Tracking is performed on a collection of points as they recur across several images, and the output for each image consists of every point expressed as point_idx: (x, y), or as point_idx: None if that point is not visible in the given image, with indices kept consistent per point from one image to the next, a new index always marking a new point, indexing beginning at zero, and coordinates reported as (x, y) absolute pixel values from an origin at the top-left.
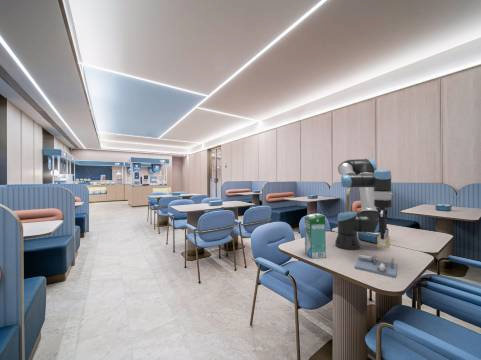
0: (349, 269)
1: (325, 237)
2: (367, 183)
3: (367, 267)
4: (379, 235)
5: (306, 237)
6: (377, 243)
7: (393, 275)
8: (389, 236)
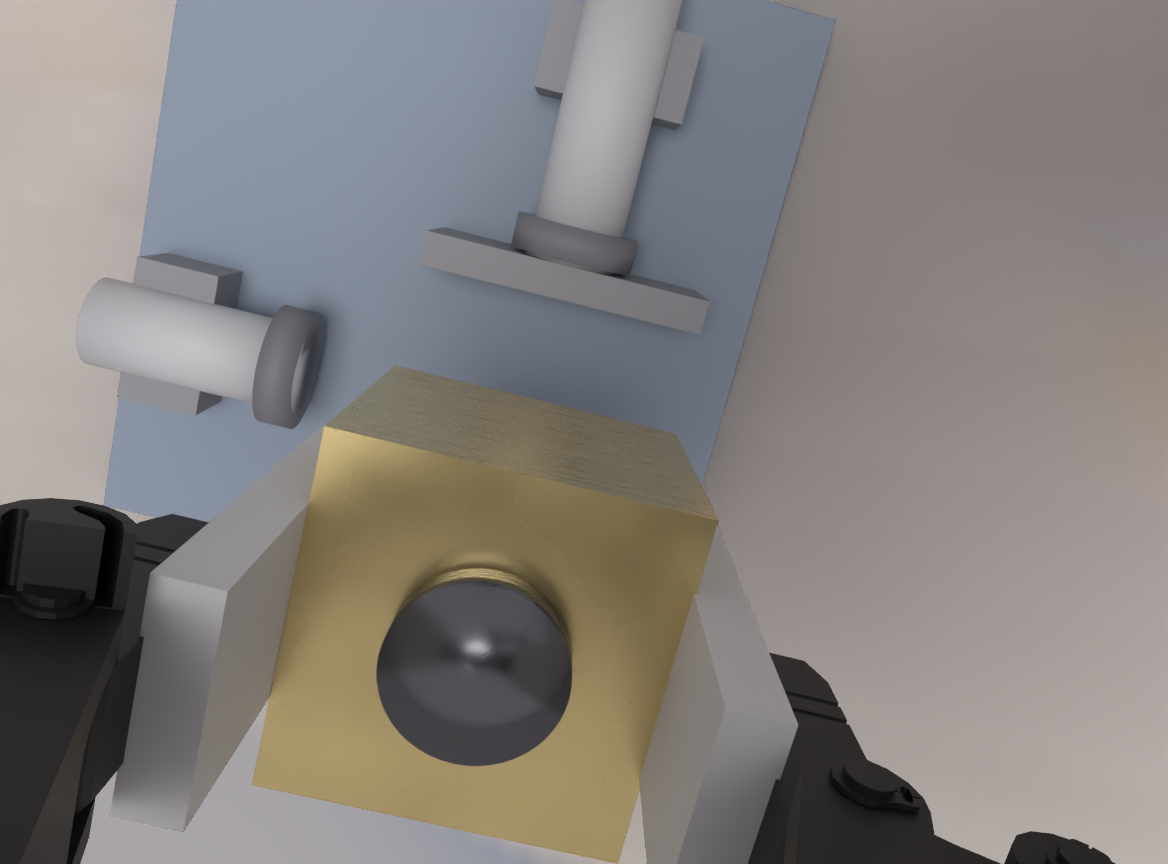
0: None
1: None
2: None
3: (244, 98)
4: (215, 523)
5: None
6: (377, 382)
7: (113, 472)
8: (610, 856)
